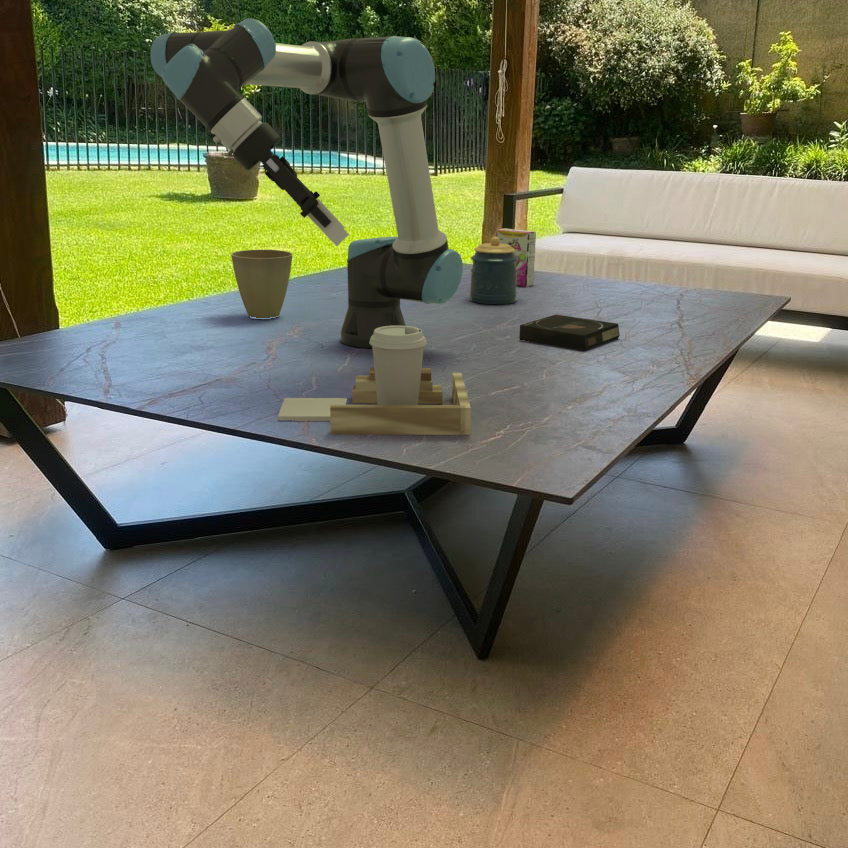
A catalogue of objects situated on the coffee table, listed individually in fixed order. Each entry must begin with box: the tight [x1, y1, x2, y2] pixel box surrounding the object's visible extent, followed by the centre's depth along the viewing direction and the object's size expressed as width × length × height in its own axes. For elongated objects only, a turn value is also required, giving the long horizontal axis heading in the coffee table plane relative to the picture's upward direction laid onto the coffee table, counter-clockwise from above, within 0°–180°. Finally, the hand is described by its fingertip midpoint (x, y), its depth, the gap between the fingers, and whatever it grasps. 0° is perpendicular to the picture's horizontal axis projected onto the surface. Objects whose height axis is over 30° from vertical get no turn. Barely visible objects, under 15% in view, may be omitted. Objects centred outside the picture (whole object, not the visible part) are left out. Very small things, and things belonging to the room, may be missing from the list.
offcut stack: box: [351, 367, 444, 405], centre depth 175 cm, size 4×16×5 cm, turn 92°
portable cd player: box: [518, 313, 621, 352], centre depth 224 cm, size 16×17×4 cm
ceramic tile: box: [277, 397, 348, 422], centre depth 168 cm, size 11×11×1 cm
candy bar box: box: [496, 228, 537, 288], centre depth 293 cm, size 11×5×16 cm, turn 58°
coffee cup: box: [369, 325, 428, 405], centre depth 163 cm, size 10×10×15 cm
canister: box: [469, 236, 518, 305], centre depth 267 cm, size 13×13×18 cm
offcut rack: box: [329, 372, 472, 436], centre depth 166 cm, size 22×22×4 cm
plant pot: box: [230, 249, 294, 318], centre depth 242 cm, size 15×15×16 cm
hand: (341, 236), depth 159 cm, fingers open, 13 cm apart
